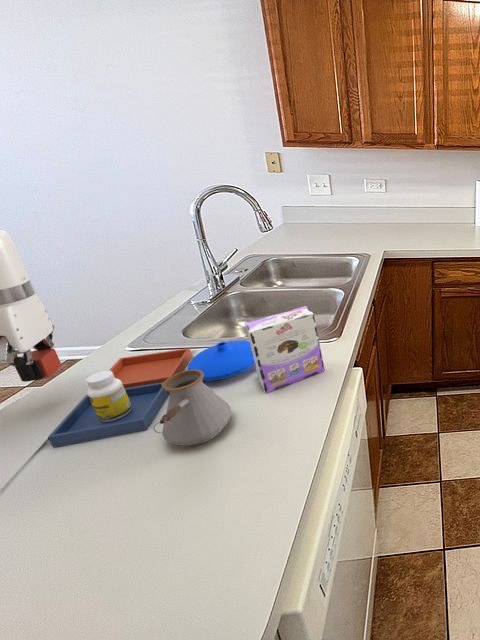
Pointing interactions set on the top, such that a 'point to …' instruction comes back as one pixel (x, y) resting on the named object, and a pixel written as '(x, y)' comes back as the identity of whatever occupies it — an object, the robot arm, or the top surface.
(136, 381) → the rust tray
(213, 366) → the blue pot lid
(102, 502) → the top surface
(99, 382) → the supplement bottle
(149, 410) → the blue tray
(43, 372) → the rust block
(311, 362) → the candy box
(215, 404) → the coffee pot
